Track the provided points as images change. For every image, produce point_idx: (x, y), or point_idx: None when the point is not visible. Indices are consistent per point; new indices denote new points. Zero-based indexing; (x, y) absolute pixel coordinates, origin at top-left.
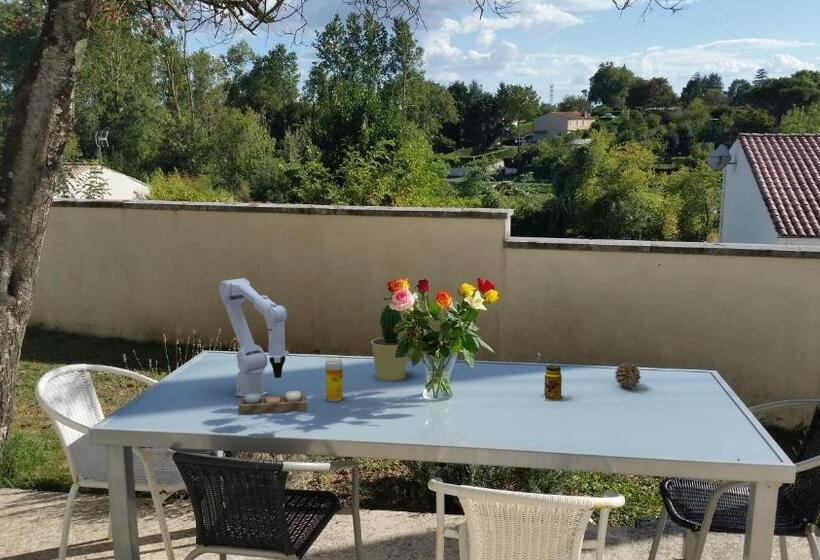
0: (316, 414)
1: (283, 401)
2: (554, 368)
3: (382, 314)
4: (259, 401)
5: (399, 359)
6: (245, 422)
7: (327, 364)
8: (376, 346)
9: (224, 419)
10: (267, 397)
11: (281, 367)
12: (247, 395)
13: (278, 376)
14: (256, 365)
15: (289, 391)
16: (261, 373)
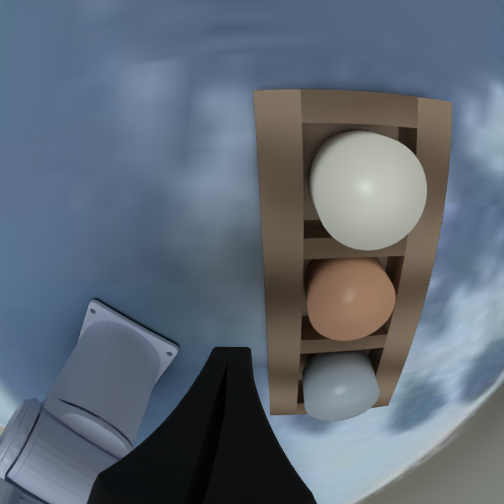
0: (480, 66)
1: (398, 245)
2: None
3: None
4: (357, 356)
5: None
6: (463, 349)
7: None
8: None
9: (405, 402)
10: (324, 333)
11: (270, 435)
12: (337, 414)
13: (252, 371)
14: (95, 464)
15: (323, 223)
16: (90, 406)
